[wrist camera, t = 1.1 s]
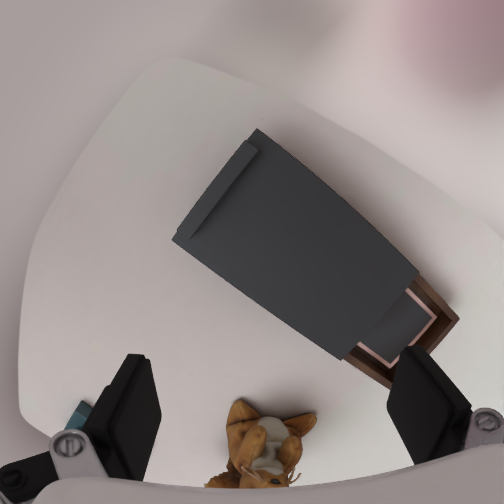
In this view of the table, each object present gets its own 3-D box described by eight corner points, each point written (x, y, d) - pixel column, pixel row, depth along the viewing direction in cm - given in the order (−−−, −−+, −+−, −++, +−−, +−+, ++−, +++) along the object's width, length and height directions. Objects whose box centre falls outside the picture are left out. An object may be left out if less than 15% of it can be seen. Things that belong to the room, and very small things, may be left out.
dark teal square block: (66, 425, 35) (55, 443, 31) (81, 400, 33) (69, 419, 29) (123, 462, 36) (116, 481, 32) (145, 441, 35) (138, 462, 31)
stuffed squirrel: (321, 409, 33) (344, 498, 20) (268, 472, 36) (273, 549, 24) (241, 386, 32) (239, 484, 19) (200, 455, 35) (188, 535, 23)
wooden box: (261, 289, 29) (262, 303, 26) (335, 199, 27) (346, 203, 24) (383, 376, 32) (392, 392, 29) (446, 307, 30) (460, 318, 27)
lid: (172, 238, 25) (165, 244, 22) (256, 129, 22) (257, 124, 20) (339, 357, 27) (345, 371, 25) (416, 270, 25) (428, 278, 23)
